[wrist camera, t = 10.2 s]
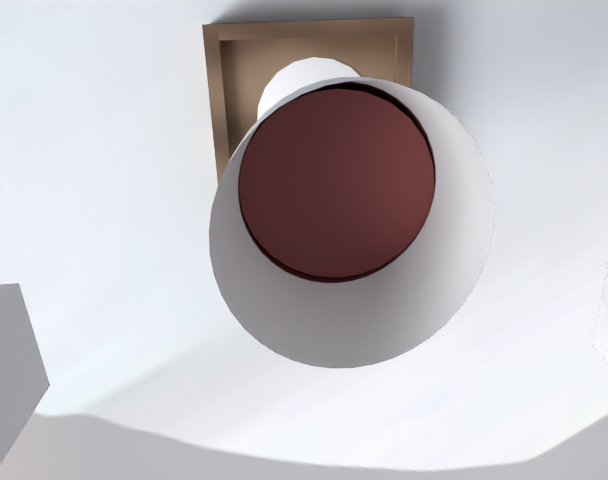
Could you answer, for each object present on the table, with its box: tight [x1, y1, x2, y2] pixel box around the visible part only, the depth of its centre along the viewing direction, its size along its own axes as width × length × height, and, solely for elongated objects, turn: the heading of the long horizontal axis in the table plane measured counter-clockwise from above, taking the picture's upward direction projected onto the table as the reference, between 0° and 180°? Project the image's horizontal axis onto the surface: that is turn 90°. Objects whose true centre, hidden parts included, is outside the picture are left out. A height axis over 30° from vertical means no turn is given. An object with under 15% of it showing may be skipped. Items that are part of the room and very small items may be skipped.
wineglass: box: [209, 57, 494, 368], centre depth 28 cm, size 9×10×23 cm
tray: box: [202, 17, 414, 185], centre depth 39 cm, size 14×14×4 cm
